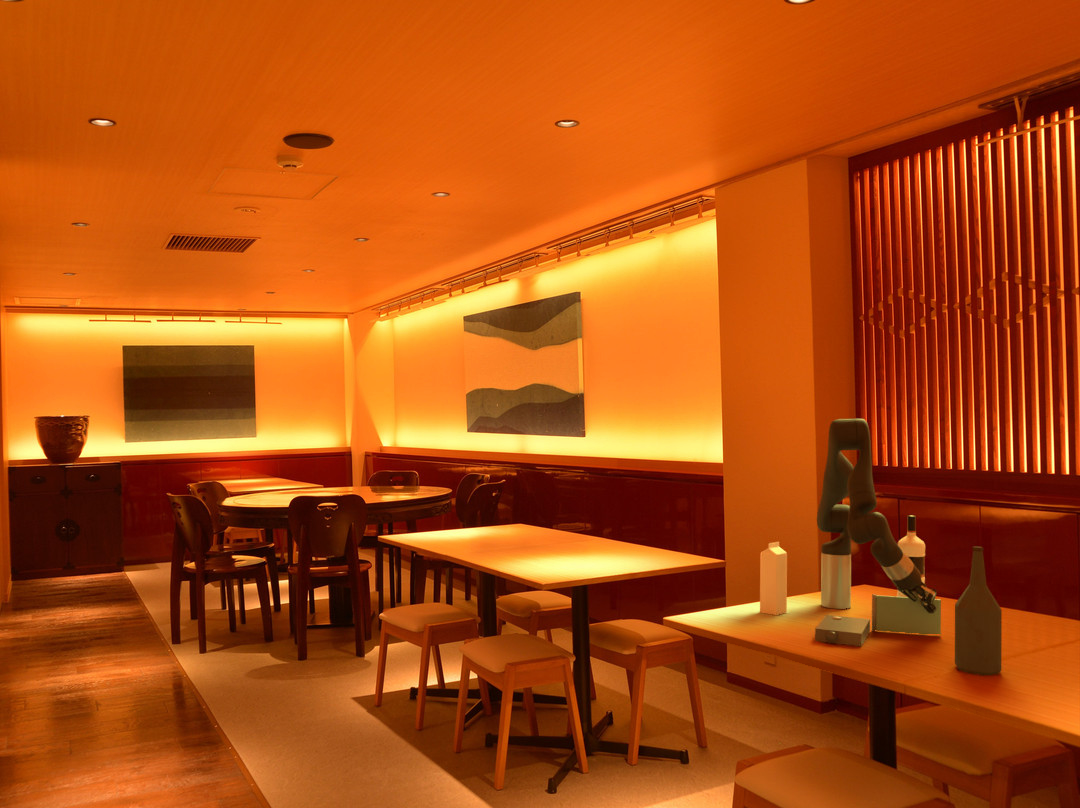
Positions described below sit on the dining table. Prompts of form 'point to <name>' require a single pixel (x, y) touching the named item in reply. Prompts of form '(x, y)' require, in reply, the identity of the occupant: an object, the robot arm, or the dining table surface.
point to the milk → (773, 580)
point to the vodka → (913, 548)
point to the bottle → (978, 624)
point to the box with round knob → (842, 630)
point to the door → (904, 615)
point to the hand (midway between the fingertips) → (932, 610)
